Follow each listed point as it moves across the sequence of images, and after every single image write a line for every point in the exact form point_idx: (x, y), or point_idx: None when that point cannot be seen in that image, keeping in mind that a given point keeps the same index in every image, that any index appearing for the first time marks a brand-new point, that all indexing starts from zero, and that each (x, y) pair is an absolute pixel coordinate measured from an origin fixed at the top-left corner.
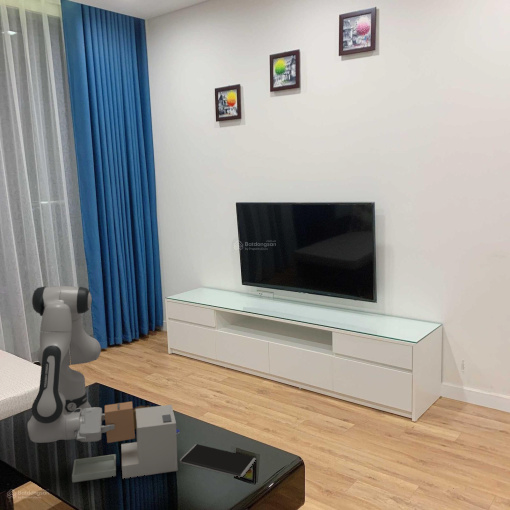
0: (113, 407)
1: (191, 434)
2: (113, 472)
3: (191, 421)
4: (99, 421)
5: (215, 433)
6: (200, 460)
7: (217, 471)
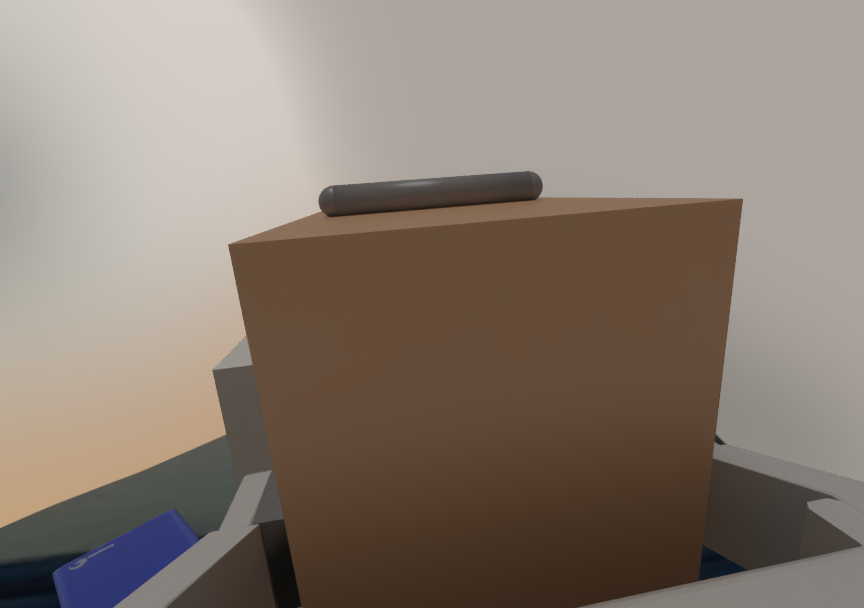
0: (443, 211)
1: (231, 479)
2: None
3: (113, 488)
4: (813, 596)
5: None
6: None
7: None
